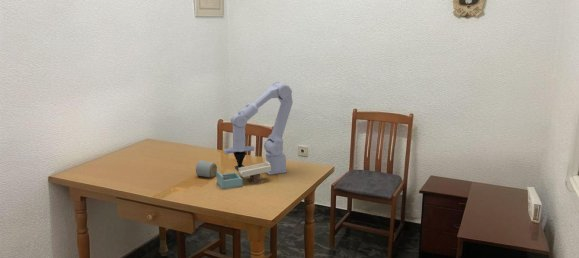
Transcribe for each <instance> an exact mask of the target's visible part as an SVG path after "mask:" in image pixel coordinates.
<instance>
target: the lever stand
mask: <svg viewBox="0 0 579 258" xmlns="http://www.w3.org/2000/svg"><path fill="white" fill-rule="evenodd" d="M245 180H246V181H247V182H248V183H249V184H250V185H259V184H265V180H263V179H262V178H261V173H260V174H255V175H250V176H247V177H245Z"/></svg>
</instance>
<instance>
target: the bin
mask: <svg viewBox="0 0 579 258" xmlns="http://www.w3.org/2000/svg"><path fill="white" fill-rule="evenodd" d="M223 176H228V177H229V178H230V179H229V180H224V177H223ZM216 184H217V186H218V187H219V188H221V190H229V189H234V188H235V189H236V188H242V187H243V184H244V183H243V177H242V176H241V175H240V174H239V173H236V172H231V173H223V174H222V173H221V172H220V171H219V170H217V171H216Z"/></svg>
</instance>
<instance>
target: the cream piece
mask: <svg viewBox="0 0 579 258" xmlns="http://www.w3.org/2000/svg"><path fill="white" fill-rule="evenodd" d="M234 169H235V170H236V172H238V175H239V176H240V177H241V178H247V177H250V175H255V174H260V175H261V174H263V173H266V172H269V171H271V166H270V163H269V162H268V161H266V160H264V162H262V163H256V164H251V165H246V166H245V165H244V164H242V167H238V165H235V166H234Z"/></svg>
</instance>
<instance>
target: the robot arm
mask: <svg viewBox="0 0 579 258" xmlns="http://www.w3.org/2000/svg"><path fill="white" fill-rule="evenodd" d="M292 93H293V90H292V88H291V87H290V85H287V84H284V83H281V82H280V81H276V82H273V83H272V84H271V85H270V86H268V87H267V89H266V90H265V91H264V92H263V93H262V94H261V95H260V96H259V97H258V98H257V99H256V100H255V101H254V102H249V103H245V106H244V107H243V108H242V109H241V110H238V112H237V113H233V115H232V116H231V119H230V122H231V124H232V147H230V148H229V147H228V148H224V149H223V154H224V155H228V154H233V156H234V158H235V160H236V163H237V166H238V167H242V165H243V162H244V159H245V157H246V155H247V153H246V152H254V151H255V146H253V145H247V146H246V125H247V123H248V121H249V120H251V119H252V118H253V117H254V116H255V115H256V114H257V113H258V112H259V108H260V107H262V106H263V105H265V104H266V103H268V101H270V100H271V99H278V101H279V102H280V104H279V108H278V112H277V114H276V118H275V121H274V124H273V128H272V131H271V133H270V134H269V135H268V137H267V139H266V141H265V142H264V143H263V149H264V150H265V151H266V152H265V161H268V162H269V163H270V166H271V171H269V172H265V173H266V174H267V175H268V176H269V175H270V176H271V175H278V174H284V173H287V159H286V158H287V157H286V154H285V153H283V150H284V148H283V144H284V140H283V135H284V132H285V129H286V126H287V122H288V119H289V116H290V113H291V109H292V106H293V102H294V101H293V95H292Z"/></svg>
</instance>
